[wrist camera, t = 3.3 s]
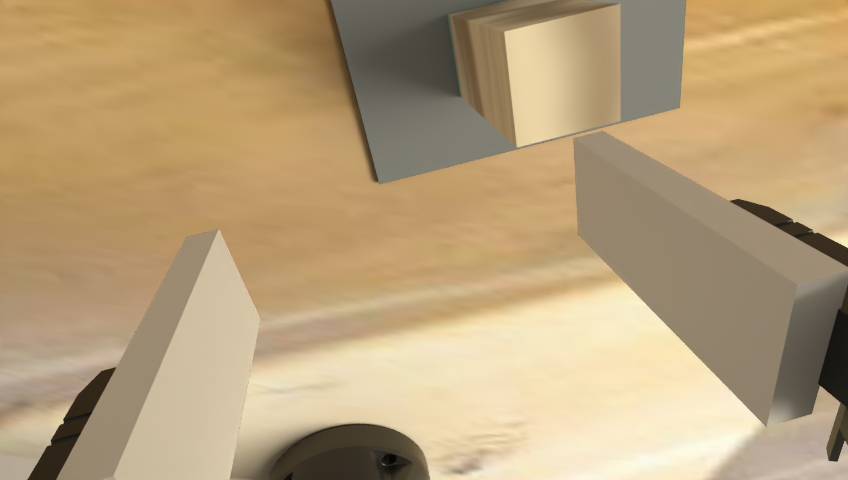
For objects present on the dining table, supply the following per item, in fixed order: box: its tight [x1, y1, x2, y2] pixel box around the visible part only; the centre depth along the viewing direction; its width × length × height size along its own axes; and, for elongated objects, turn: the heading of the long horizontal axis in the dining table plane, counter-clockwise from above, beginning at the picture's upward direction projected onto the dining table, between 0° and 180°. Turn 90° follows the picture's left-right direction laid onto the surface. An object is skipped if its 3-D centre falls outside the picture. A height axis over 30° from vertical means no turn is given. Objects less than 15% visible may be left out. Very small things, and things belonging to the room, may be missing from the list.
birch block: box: [447, 0, 621, 148], centre depth 26 cm, size 5×5×11 cm
